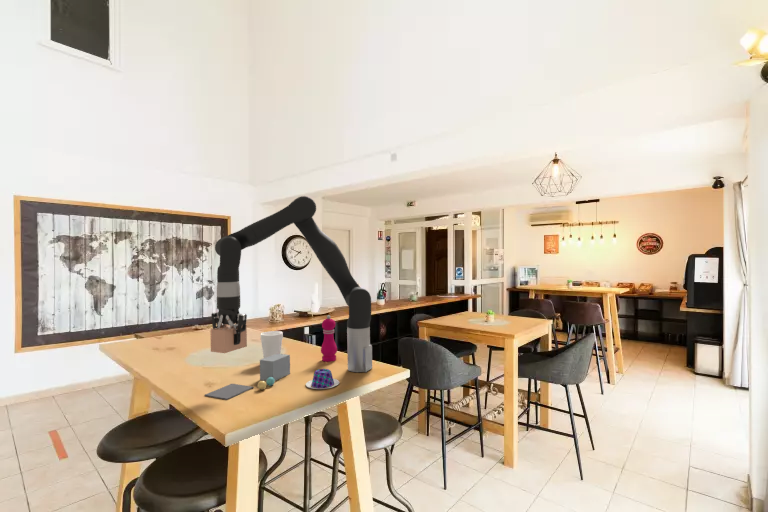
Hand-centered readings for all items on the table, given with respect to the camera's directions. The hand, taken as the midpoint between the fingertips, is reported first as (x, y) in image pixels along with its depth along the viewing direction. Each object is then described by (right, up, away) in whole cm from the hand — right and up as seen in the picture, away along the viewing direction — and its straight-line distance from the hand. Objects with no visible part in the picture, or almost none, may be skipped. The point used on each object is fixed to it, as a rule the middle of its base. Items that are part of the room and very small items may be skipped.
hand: (229, 343), depth 130 cm
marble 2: (+12, -16, +6) cm, 21 cm away
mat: (0, -17, 0) cm, 17 cm away
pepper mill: (+29, -17, +39) cm, 51 cm away
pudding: (+31, -17, +6) cm, 36 cm away
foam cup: (+4, -17, +35) cm, 39 cm away
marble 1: (+11, -16, +2) cm, 20 cm away
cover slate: (+11, -17, +16) cm, 26 cm away
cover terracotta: (0, -2, 0) cm, 2 cm away
